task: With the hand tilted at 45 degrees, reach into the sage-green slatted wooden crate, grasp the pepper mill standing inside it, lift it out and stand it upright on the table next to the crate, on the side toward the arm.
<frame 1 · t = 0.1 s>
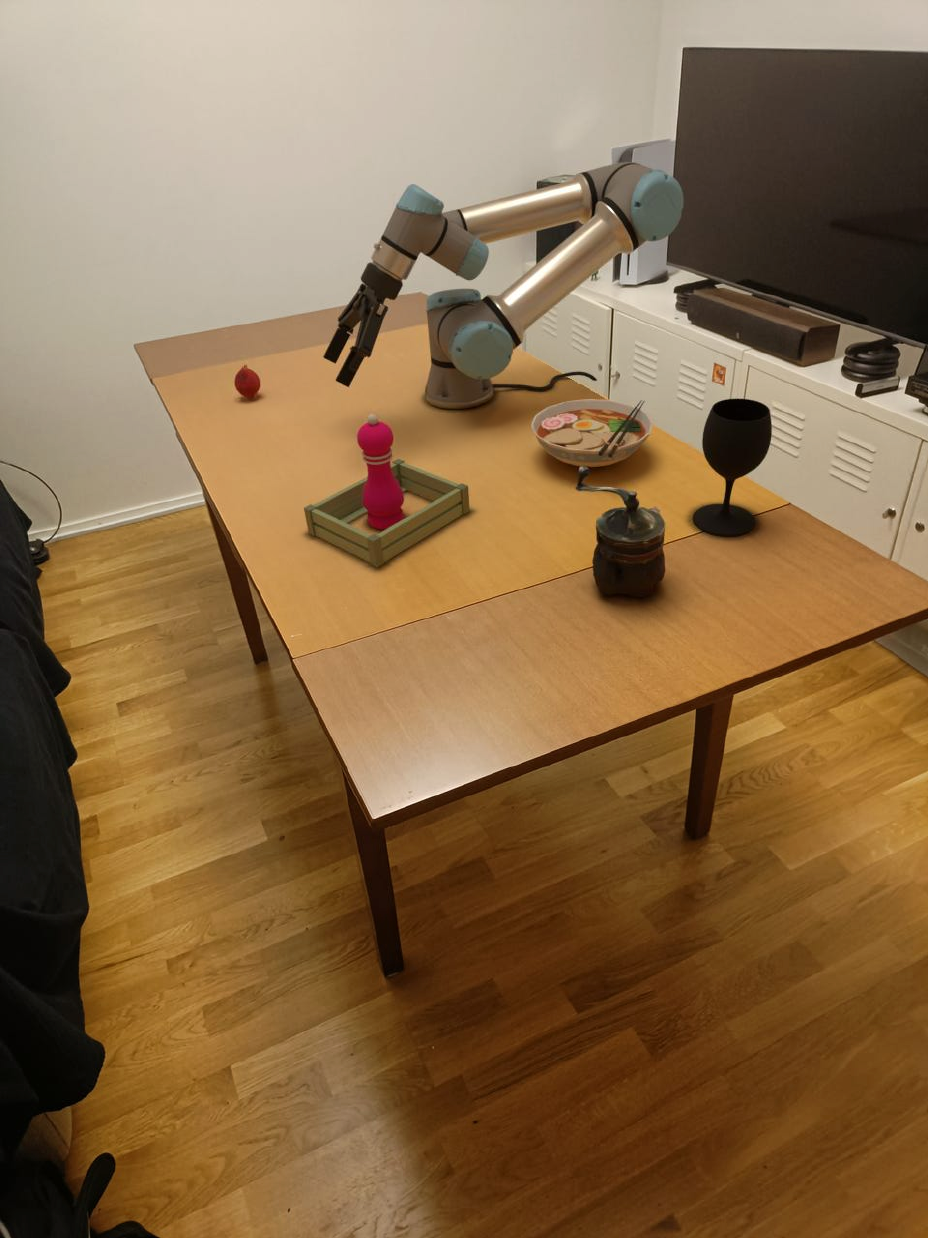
hand: (335, 371, 166), 15 cm above the table, tool tilted 35°, fingers open, 13 cm apart
ramen bowl: (590, 459, 164), on the table
coffee grinder: (615, 585, 130), on the table
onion: (251, 399, 198), on the table
wine glass: (723, 521, 143), on the table
crate: (390, 522, 149), on the table
pepper mill: (386, 521, 150), resting in crate
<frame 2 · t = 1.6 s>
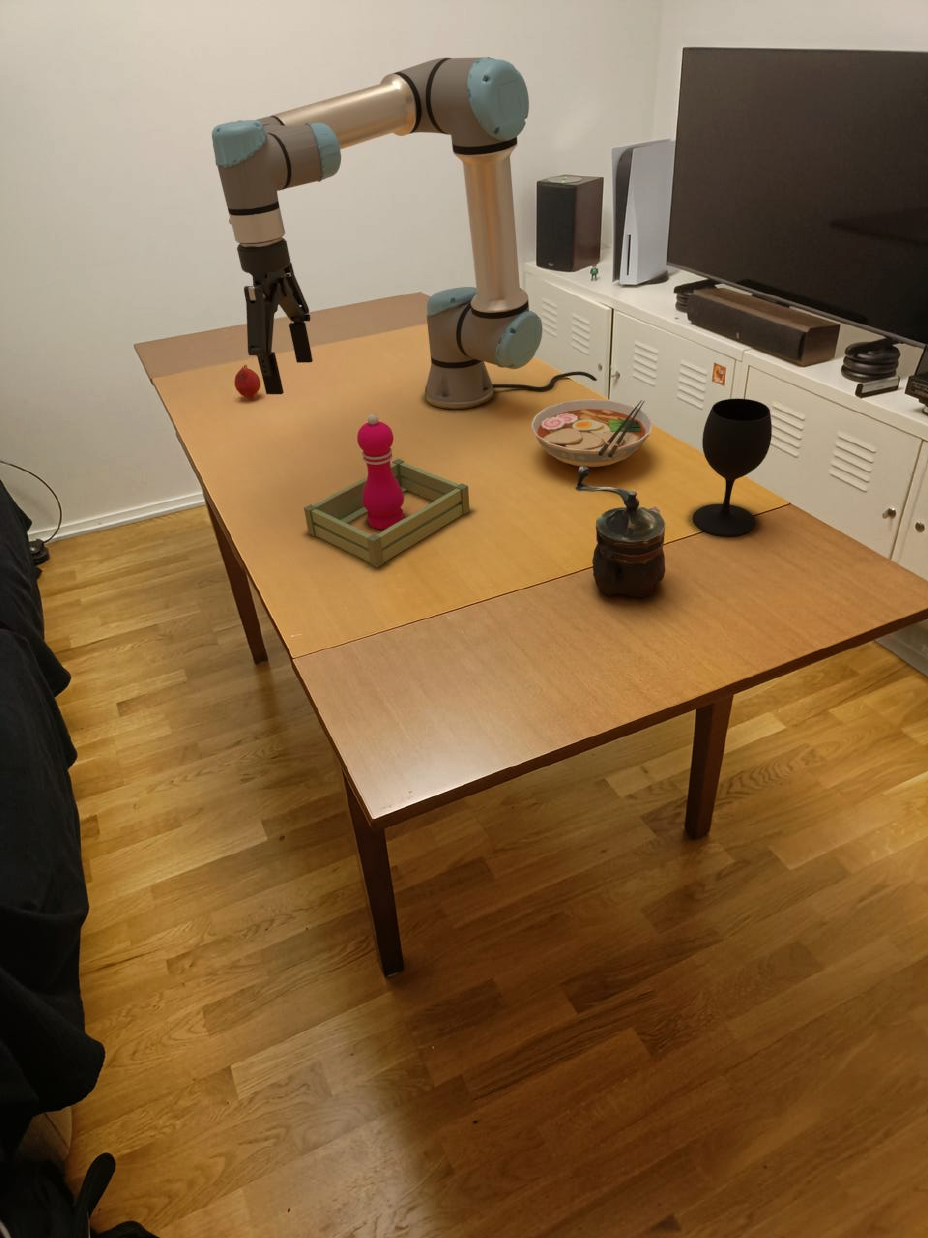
hand: (290, 377, 140), 25 cm above the table, tool pointing down, fingers open, 13 cm apart
nothing on the table moved.
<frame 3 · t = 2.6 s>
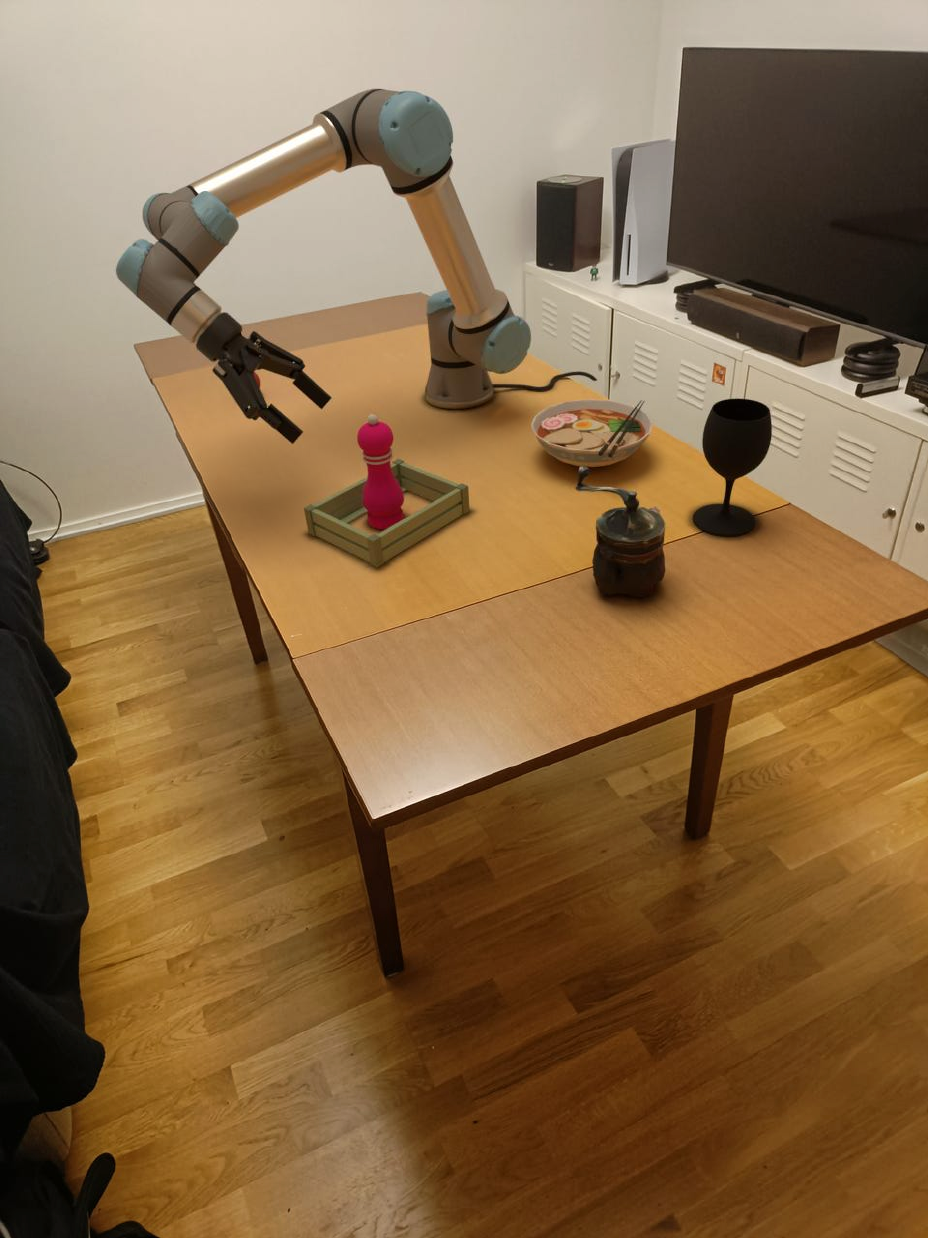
hand: (313, 420, 140), 19 cm above the table, tool tilted 45°, fingers open, 13 cm apart
nothing on the table moved.
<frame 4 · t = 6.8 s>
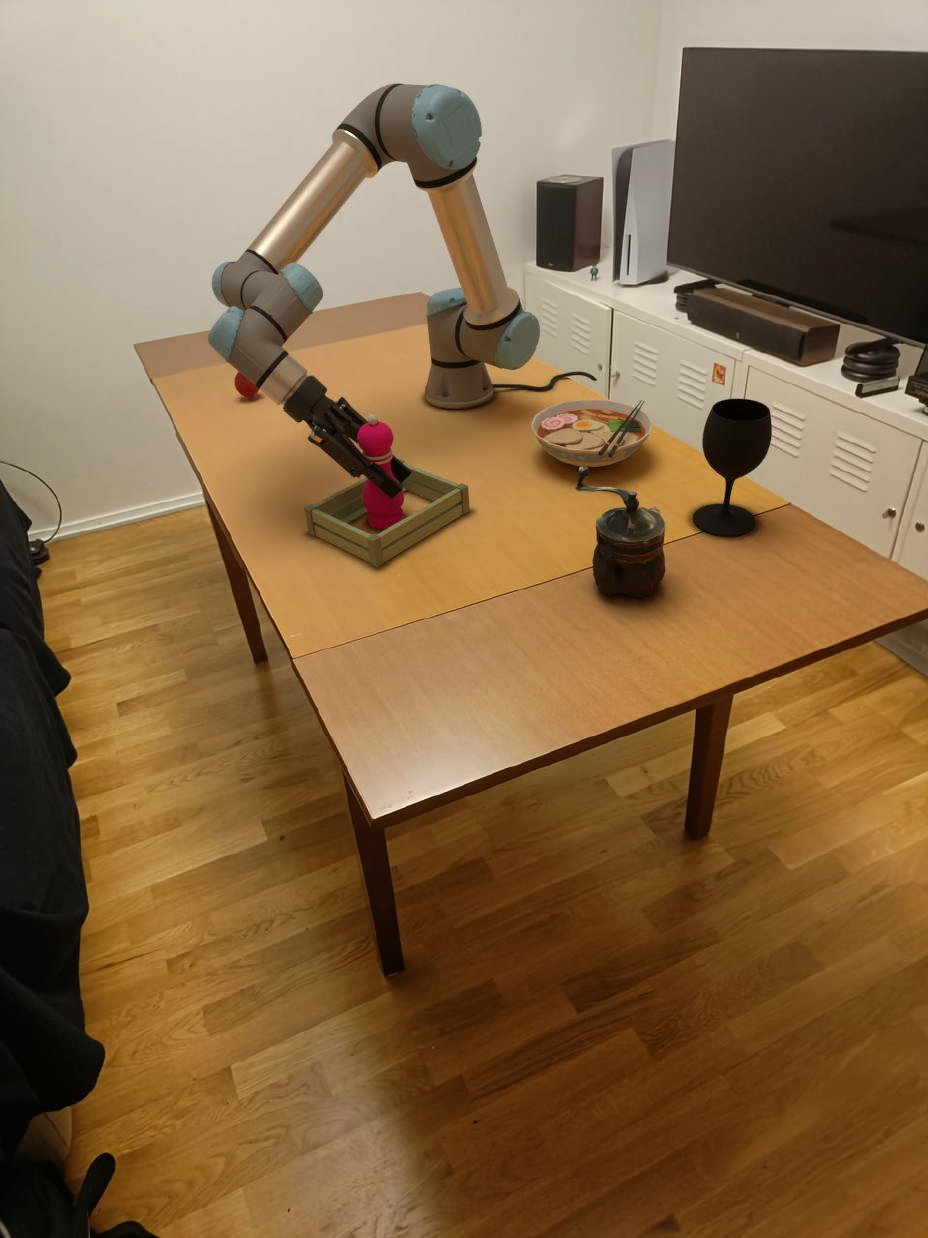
hand: (402, 485, 144), 7 cm above the table, tool tilted 45°, fingers closed on pepper mill, 5 cm apart
pepper mill: (386, 521, 150), resting in crate, touching gripper
everything else where it was.
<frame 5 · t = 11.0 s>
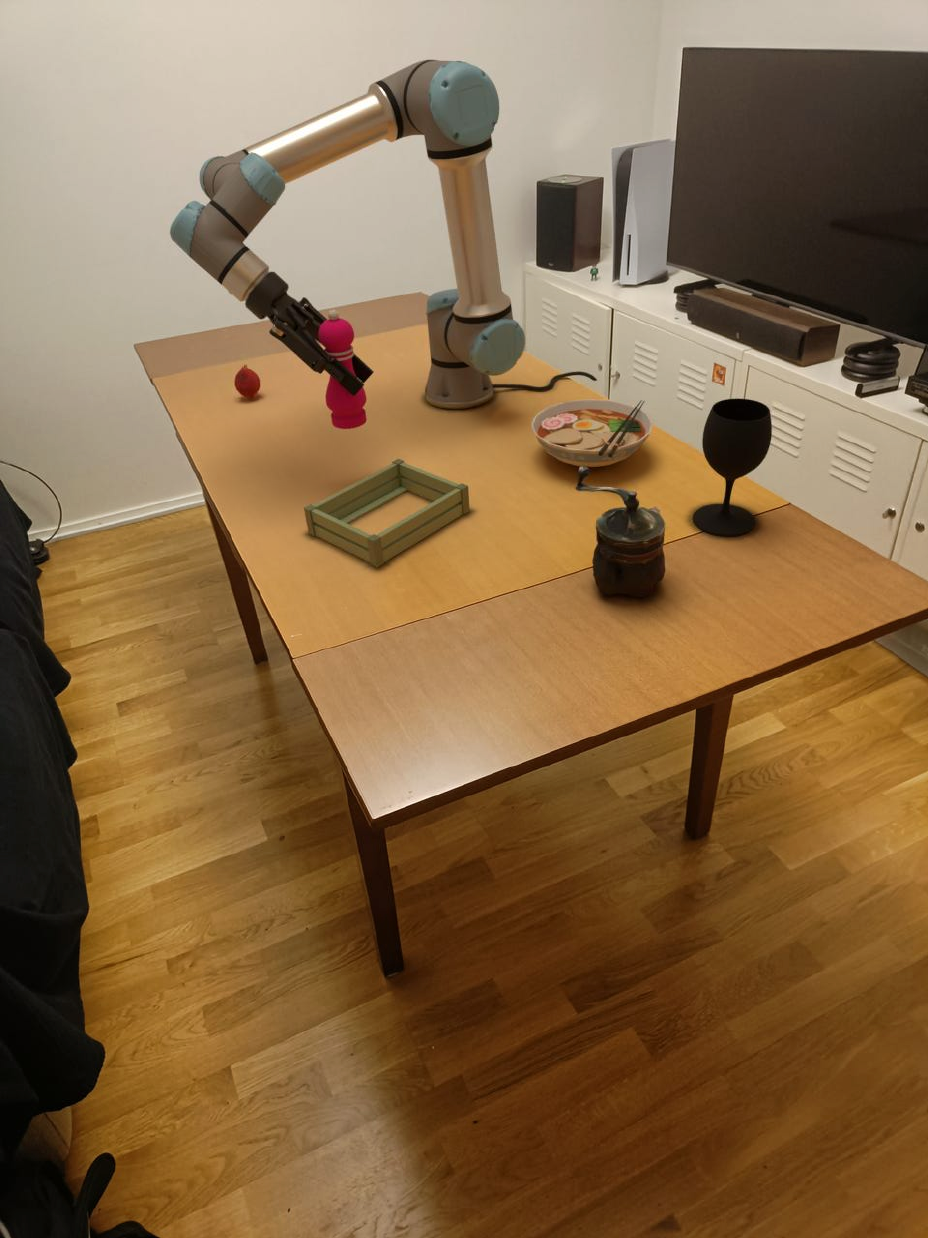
hand: (363, 383, 147), 20 cm above the table, tool tilted 45°, fingers closed on pepper mill, 5 cm apart
pepper mill: (349, 422, 153), point 13 cm above the table, touching gripper
everything else where it was.
when the fingers open (7 cm above the table, at t = 15.3 s): pepper mill stays where it is, on the table.
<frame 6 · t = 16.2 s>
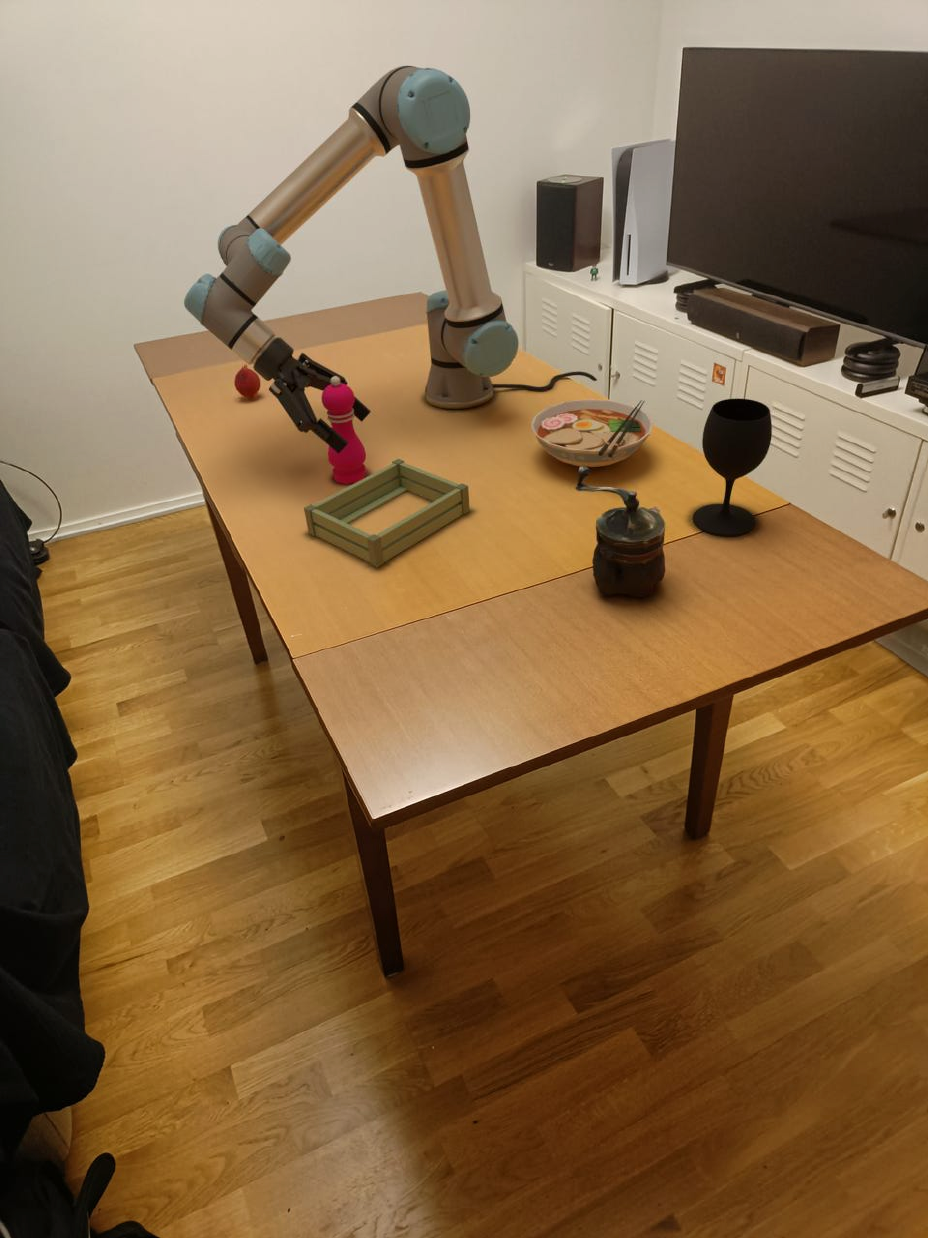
hand: (355, 432, 157), 9 cm above the table, tool tilted 45°, fingers open, 13 cm apart
pepper mill: (350, 477, 164), on the table
everything else where it was.
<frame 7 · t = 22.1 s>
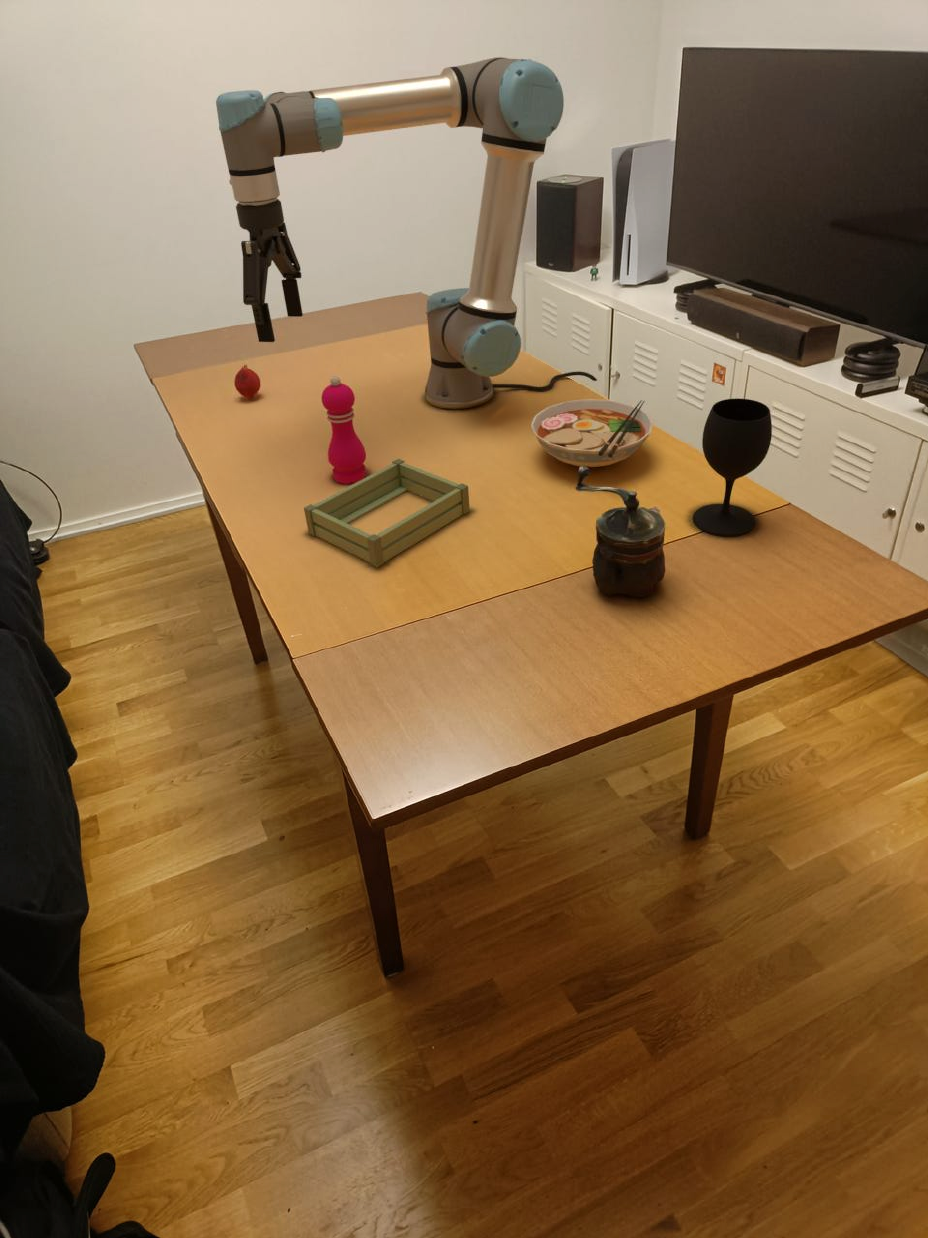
hand: (281, 328, 154), 27 cm above the table, tool pointing down, fingers open, 13 cm apart
nothing on the table moved.
at the end: pepper mill inside the target area (0.1 cm from its centre), on the table; pepper mill tilted 0°; the gripper is holding nothing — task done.
